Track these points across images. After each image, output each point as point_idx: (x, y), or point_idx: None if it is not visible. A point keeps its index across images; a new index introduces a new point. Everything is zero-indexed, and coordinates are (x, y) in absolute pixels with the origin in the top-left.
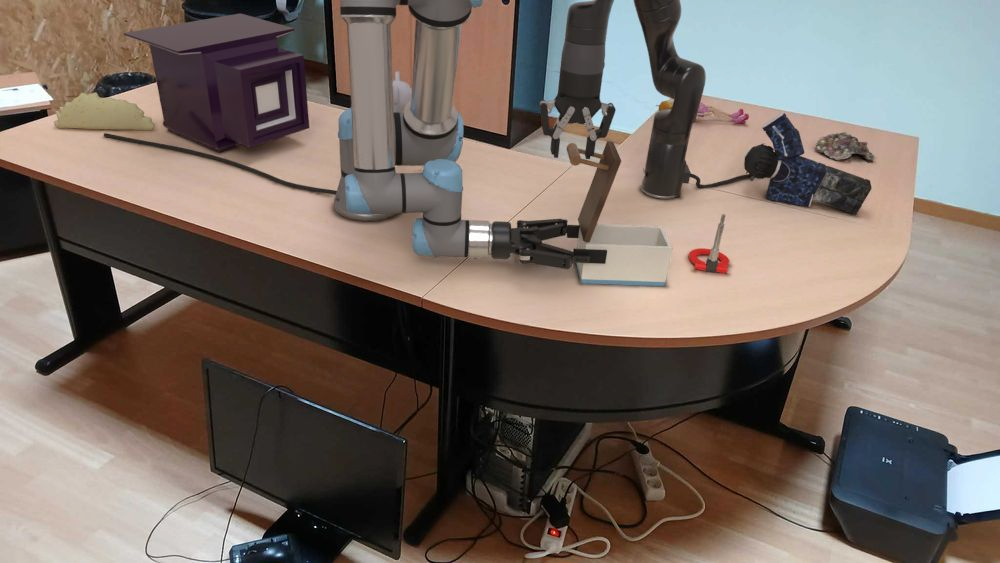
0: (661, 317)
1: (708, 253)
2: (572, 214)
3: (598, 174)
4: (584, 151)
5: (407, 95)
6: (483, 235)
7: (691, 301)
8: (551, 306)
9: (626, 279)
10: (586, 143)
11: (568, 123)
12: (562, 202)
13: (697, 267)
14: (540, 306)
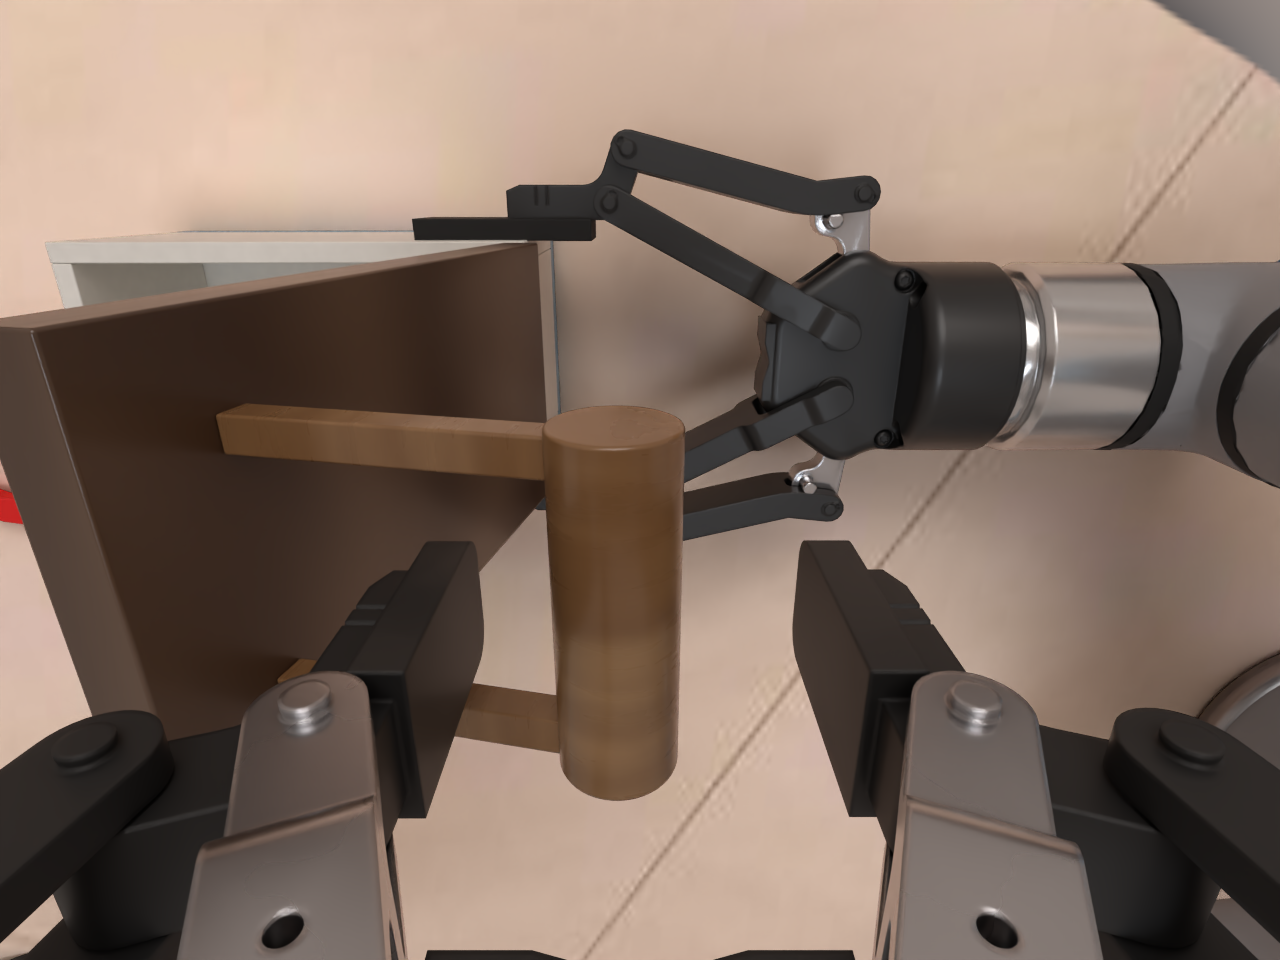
0: None
1: (7, 494)
2: None
3: (384, 572)
4: (484, 707)
5: None
6: (1076, 293)
7: (69, 107)
8: (699, 14)
9: (349, 232)
10: (449, 737)
11: (830, 952)
12: (576, 819)
13: None
14: (749, 11)
